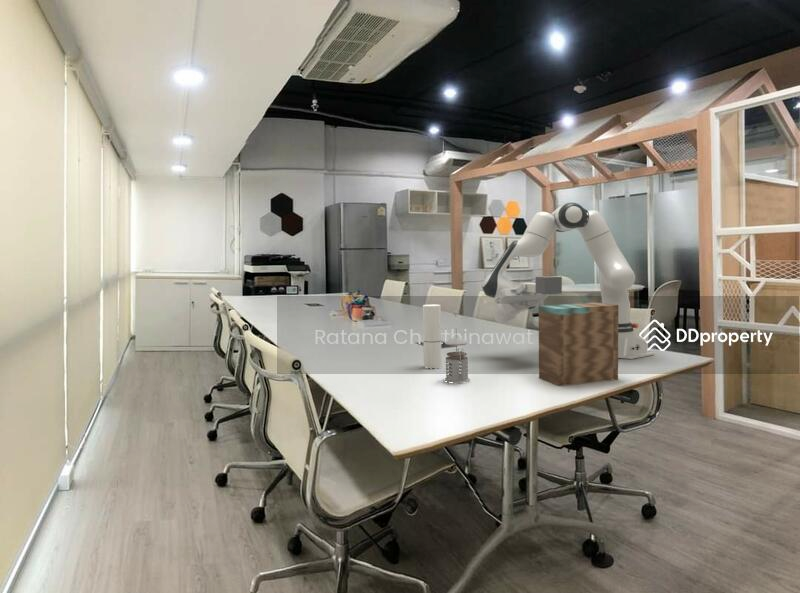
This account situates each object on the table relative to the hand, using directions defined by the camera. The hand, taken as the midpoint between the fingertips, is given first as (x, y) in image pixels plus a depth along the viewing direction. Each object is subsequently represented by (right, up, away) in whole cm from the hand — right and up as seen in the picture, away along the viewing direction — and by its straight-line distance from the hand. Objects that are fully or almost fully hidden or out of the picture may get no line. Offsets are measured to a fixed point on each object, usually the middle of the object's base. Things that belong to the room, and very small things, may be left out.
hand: (531, 286), depth 201 cm
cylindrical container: (-37, -33, +10) cm, 51 cm away
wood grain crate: (+13, -33, -15) cm, 38 cm away
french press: (-30, -34, -13) cm, 47 cm away
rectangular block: (+1, -2, -4) cm, 5 cm away
